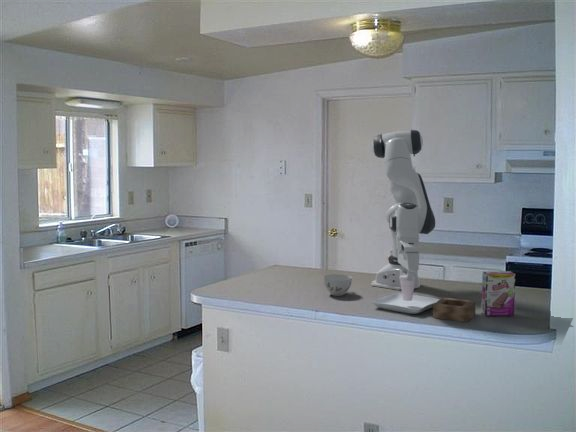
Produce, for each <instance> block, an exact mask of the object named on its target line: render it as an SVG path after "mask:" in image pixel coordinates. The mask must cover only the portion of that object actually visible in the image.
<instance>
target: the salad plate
mask: <svg viewBox="0 0 576 432" xmlns="http://www.w3.org/2000/svg"><path fill="white" fill-rule="evenodd" d="M440 299H441V298H440ZM440 299H439V298H436V297H435V298H434V297H429V296H422V295H417V294H413V298H412V301H404V300H403V297H402V292H395V293H391V294H389V295H386V296H384V297H381V298H377V299H375V300H372V301H371V304H372V305H374V306H375V307H377V308H378V309H379V308H380V309H383V310H387V311H394V312H398V313H399V312H400V313H405V314H411V315H416V314H420V313H422V312H425V311H426V310H429V309H431V308H432V309H433V304H434V303H436V302H437V301H439V300H440Z"/></svg>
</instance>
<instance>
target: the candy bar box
mask: <svg viewBox="0 0 576 432" xmlns="http://www.w3.org/2000/svg"><path fill="white" fill-rule="evenodd" d="M515 290H516V273H514V272H513V271H511V270H510V271H509V270H505V271H502V270H501V271H500V270H499V271H491V270H490V271H487V270H486V271H482V282H481V303H480V304H481V305H480V308H481V309H480V312H481V314H482V315H483V316H484V317H514V314H515V297H516V296H515V294H516V293H515V292H516V291H515Z"/></svg>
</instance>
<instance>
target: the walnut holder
mask: <svg viewBox="0 0 576 432" xmlns="http://www.w3.org/2000/svg"><path fill="white" fill-rule="evenodd" d="M475 315H476V300H469V299H459V298H452V297H441V298H440V300H439V301H437V302H436V303H434V304H433V307H432V318H434V319H442V320H448V321H457V322H465V323H467V322H468V321H470V319H472V318H473V317H474V316H475Z"/></svg>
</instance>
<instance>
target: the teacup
mask: <svg viewBox="0 0 576 432" xmlns="http://www.w3.org/2000/svg"><path fill="white" fill-rule="evenodd" d="M352 281H353V277H352V276H351V275H348V274H338V273H331V274H330V273H329V274H325V275H324V276H323V282H324V283H323V284H324V286H325V288H326V291H328V293H329V294H330V295H332V296H334V297H335V296H337V297H340V296H344V295H345V294H346V293H347V292H348V291H349V289H350V288H351V285H352Z"/></svg>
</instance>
